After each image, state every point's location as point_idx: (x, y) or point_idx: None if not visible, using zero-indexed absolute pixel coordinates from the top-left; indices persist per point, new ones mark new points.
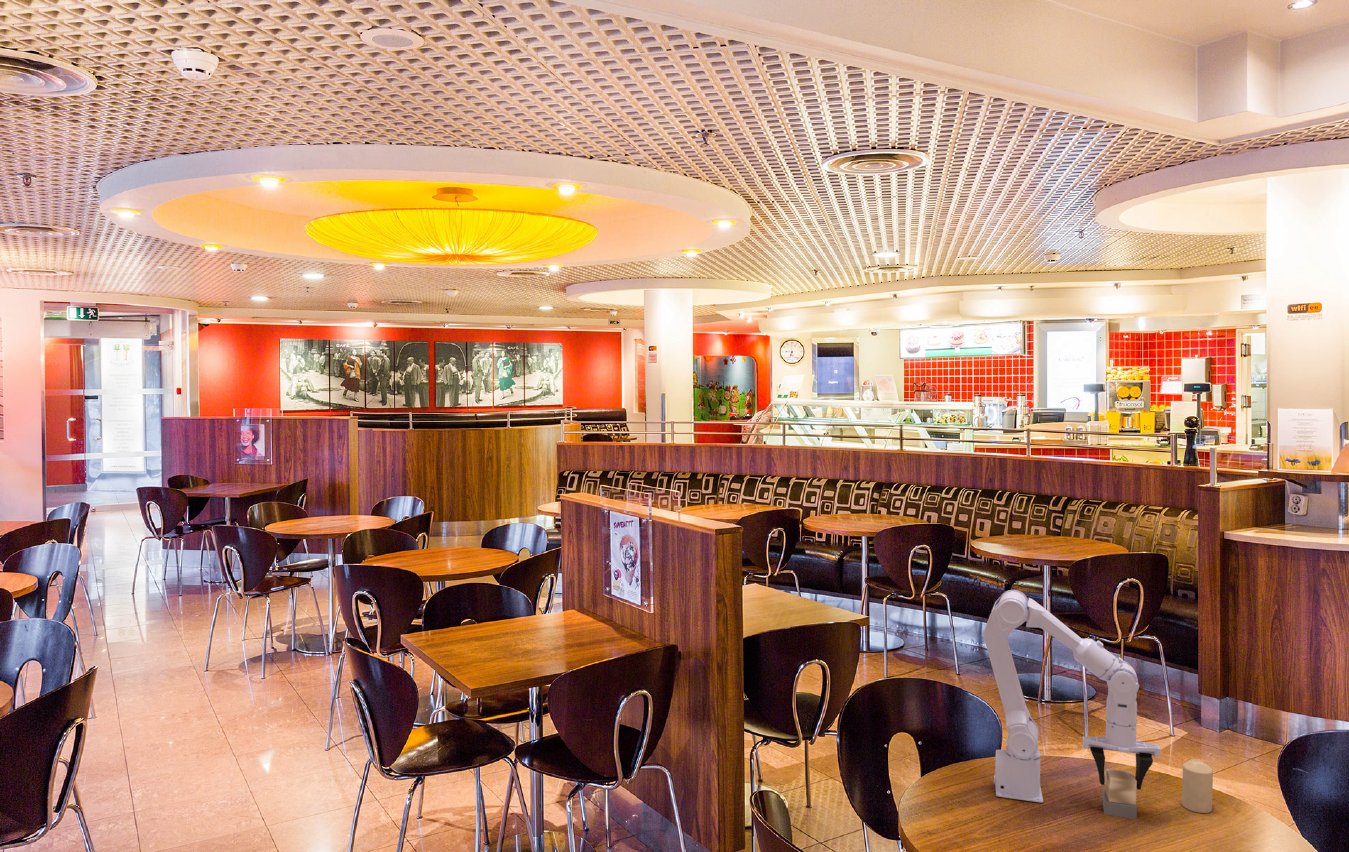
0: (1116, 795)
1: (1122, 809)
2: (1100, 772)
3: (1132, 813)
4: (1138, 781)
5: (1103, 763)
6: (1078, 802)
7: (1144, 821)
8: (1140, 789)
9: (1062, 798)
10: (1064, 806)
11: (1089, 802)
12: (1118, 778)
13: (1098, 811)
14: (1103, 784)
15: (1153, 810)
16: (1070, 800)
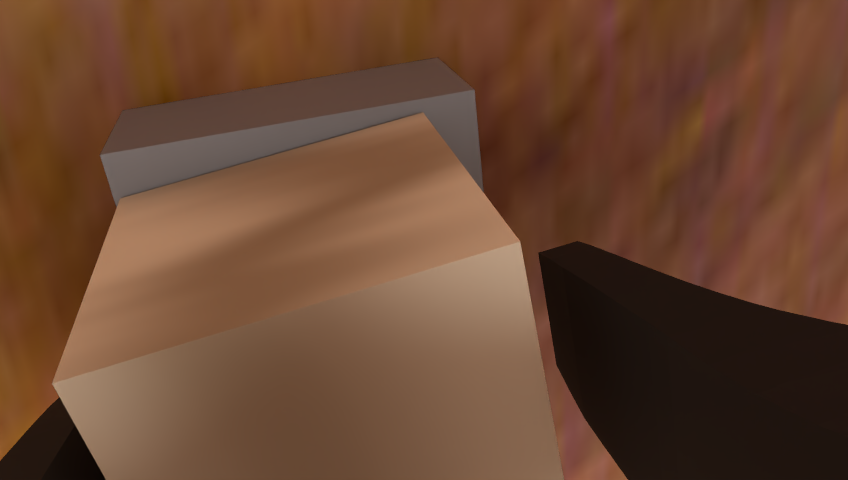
0: (357, 166)
1: (267, 111)
2: (696, 292)
3: (158, 118)
4: (50, 451)
5: (780, 391)
6: (661, 180)
7: (37, 116)
8: (58, 403)
9: (785, 180)
10: (786, 12)
11: (571, 238)
12: (379, 311)
13: (491, 87)
14: (551, 251)
15: (26, 418)
16: (724, 180)
